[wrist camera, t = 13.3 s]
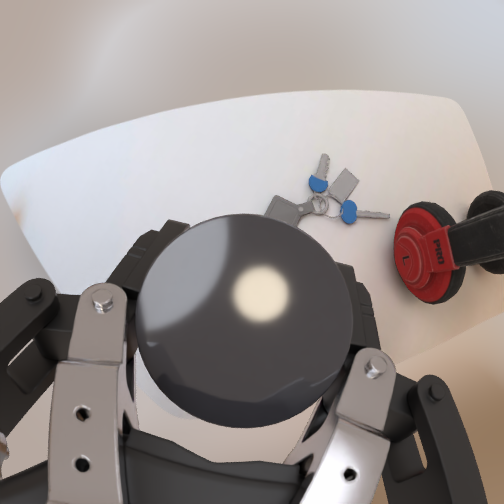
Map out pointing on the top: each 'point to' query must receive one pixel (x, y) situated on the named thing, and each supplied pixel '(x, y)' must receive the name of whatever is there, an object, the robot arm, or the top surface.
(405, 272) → the headphones
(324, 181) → the key chain
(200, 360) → the tin
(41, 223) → the top surface
